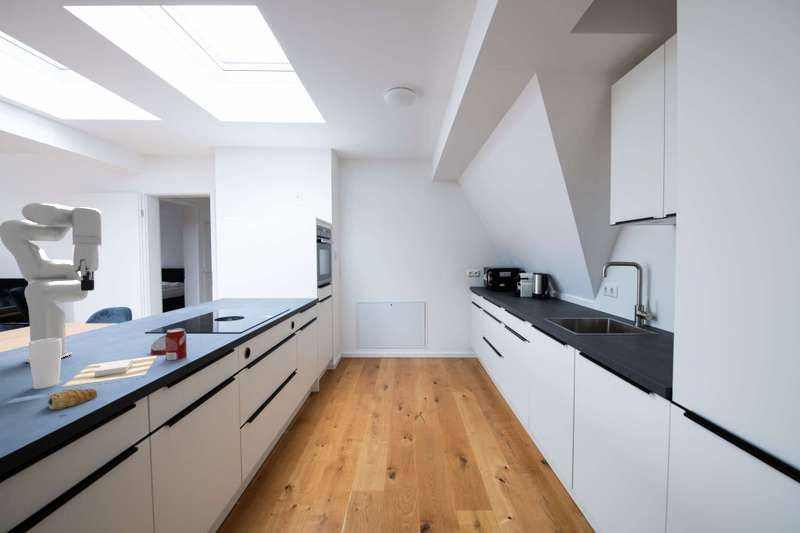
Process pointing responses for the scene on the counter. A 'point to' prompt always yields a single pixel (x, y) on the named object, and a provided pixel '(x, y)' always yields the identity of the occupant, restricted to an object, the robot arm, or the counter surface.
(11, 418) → the counter surface
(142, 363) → the board
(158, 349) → the canned food
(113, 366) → the block
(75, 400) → the pastry
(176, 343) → the soda can
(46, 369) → the drinking glass
